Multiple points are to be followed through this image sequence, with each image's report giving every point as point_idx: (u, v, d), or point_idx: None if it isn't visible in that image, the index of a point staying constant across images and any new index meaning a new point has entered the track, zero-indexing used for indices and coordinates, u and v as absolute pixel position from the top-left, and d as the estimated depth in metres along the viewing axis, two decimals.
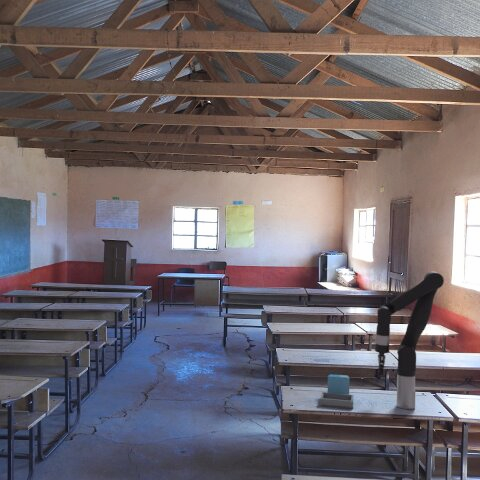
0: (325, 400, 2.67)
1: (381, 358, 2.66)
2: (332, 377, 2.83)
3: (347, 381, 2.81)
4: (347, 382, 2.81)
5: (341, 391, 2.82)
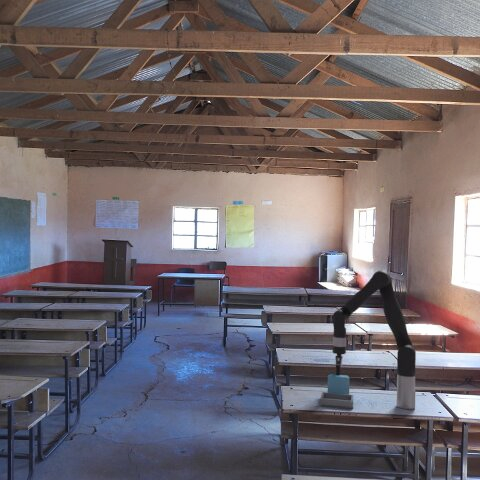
0: (325, 400, 2.67)
1: (337, 359, 2.78)
2: (332, 377, 2.83)
3: (347, 381, 2.81)
4: (347, 382, 2.81)
5: (341, 390, 2.82)
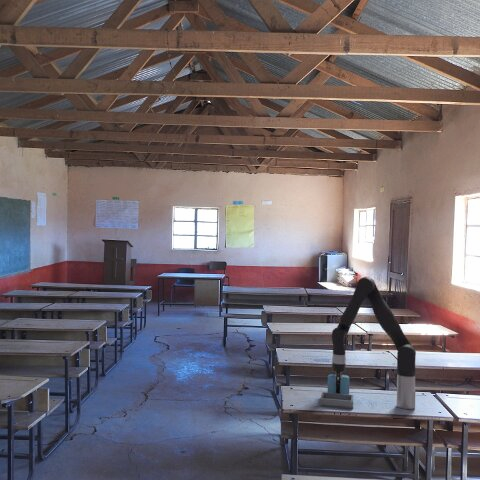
0: (325, 400, 2.67)
1: (337, 379, 2.78)
2: (332, 377, 2.83)
3: (347, 381, 2.81)
4: (347, 381, 2.81)
5: (341, 390, 2.82)
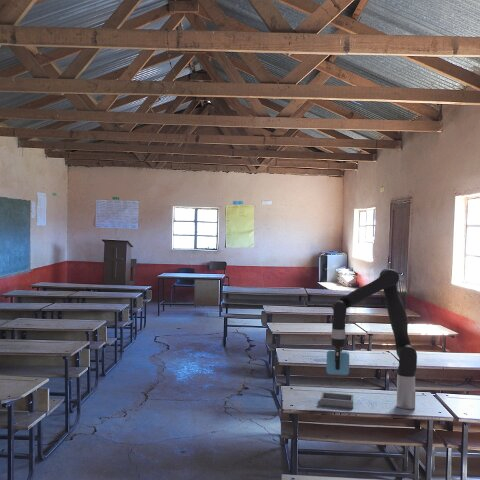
0: (325, 400, 2.67)
1: (336, 354, 2.66)
2: (331, 353, 2.71)
3: (347, 357, 2.69)
4: (347, 357, 2.69)
5: (341, 367, 2.70)
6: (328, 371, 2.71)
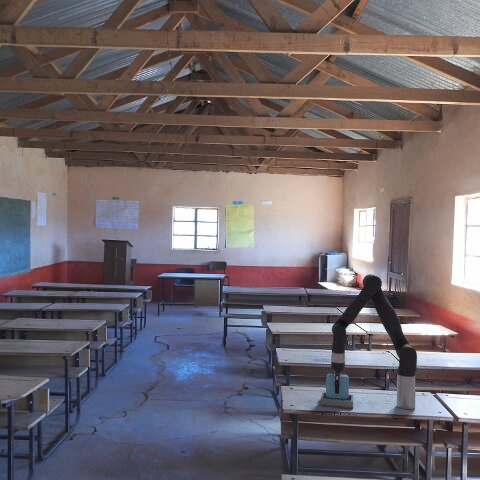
0: (325, 400, 2.67)
1: (336, 378, 2.65)
2: (331, 376, 2.70)
3: (346, 381, 2.69)
4: (346, 381, 2.69)
5: (340, 390, 2.69)
6: (327, 395, 2.70)
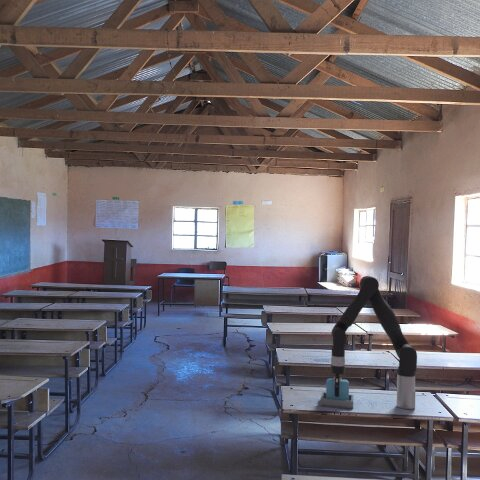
0: (325, 400, 2.67)
1: (336, 380, 2.65)
2: (331, 381, 2.70)
3: (346, 385, 2.69)
4: (346, 386, 2.69)
5: (340, 395, 2.69)
6: None
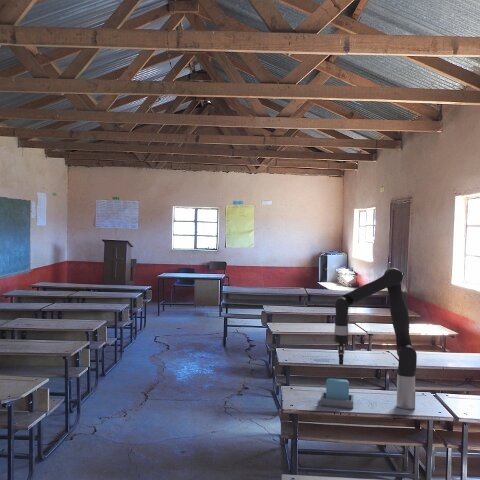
0: (325, 400, 2.67)
1: (340, 348, 2.69)
2: (331, 381, 2.70)
3: (346, 386, 2.69)
4: (346, 386, 2.69)
5: (340, 396, 2.69)
6: None
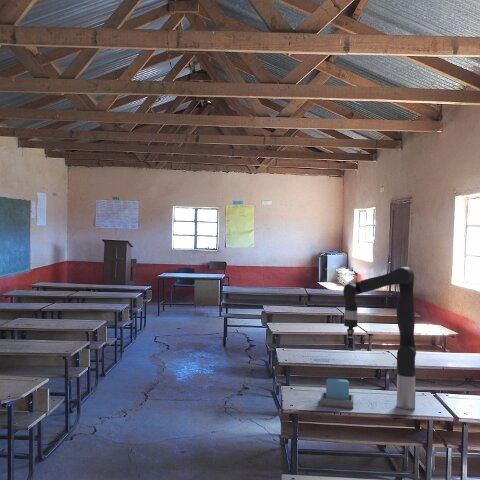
0: (325, 400, 2.67)
1: (349, 331, 2.82)
2: (331, 381, 2.70)
3: (346, 386, 2.69)
4: (346, 386, 2.69)
5: (340, 396, 2.69)
6: None
